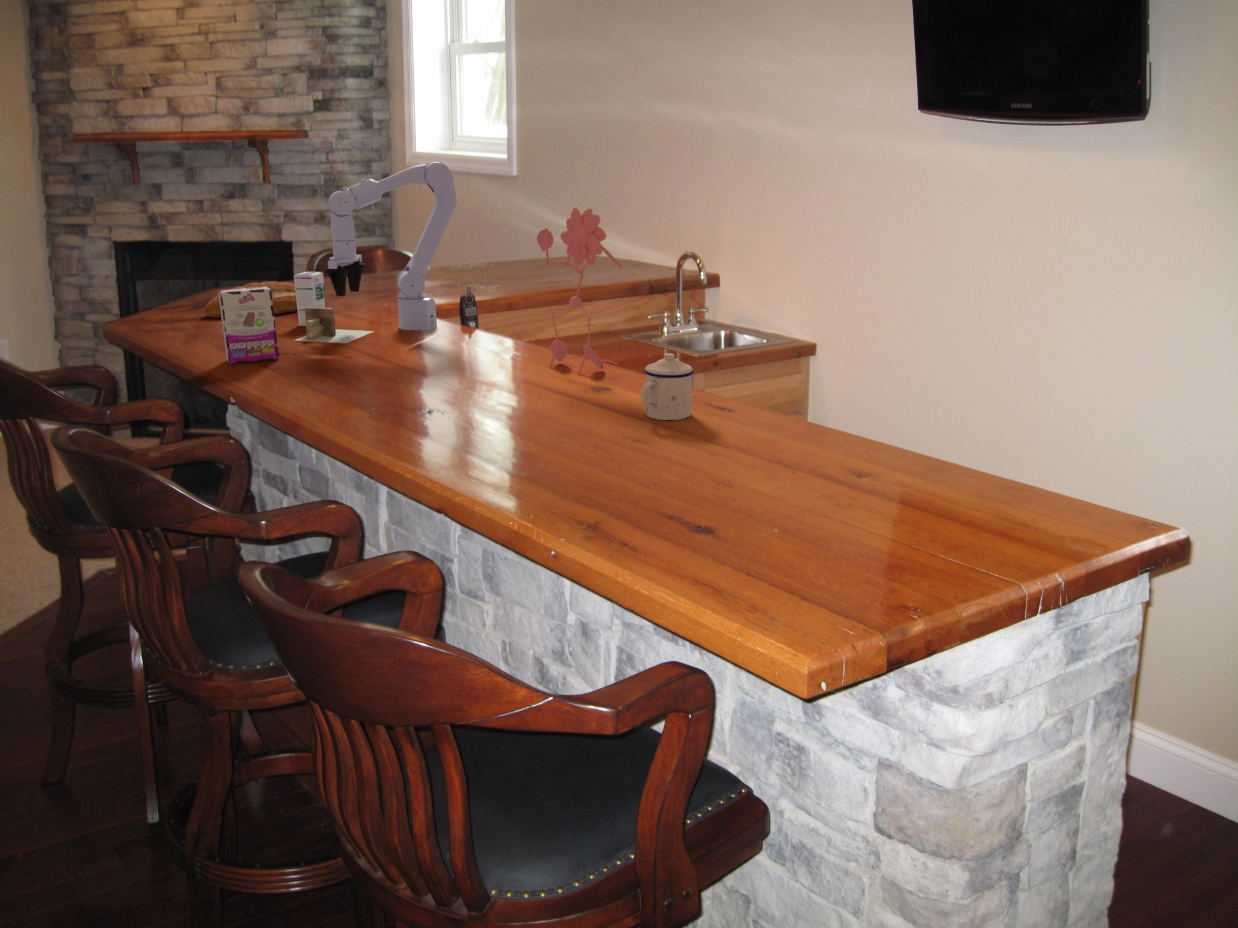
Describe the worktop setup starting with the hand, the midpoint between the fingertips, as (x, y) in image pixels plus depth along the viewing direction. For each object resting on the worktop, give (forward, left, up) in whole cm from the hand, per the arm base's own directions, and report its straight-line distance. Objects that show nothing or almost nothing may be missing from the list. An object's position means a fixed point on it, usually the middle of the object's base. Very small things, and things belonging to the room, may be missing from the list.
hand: (347, 293), depth 262 cm
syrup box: (+14, -6, -11) cm, 19 cm away
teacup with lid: (-94, +60, -11) cm, 112 cm away
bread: (+40, -25, -11) cm, 48 cm away
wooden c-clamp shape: (+4, +8, -10) cm, 13 cm away
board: (+1, +8, -10) cm, 13 cm away
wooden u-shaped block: (+4, +8, -10) cm, 13 cm away
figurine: (-69, +22, -11) cm, 73 cm away
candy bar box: (+7, +35, -11) cm, 37 cm away
